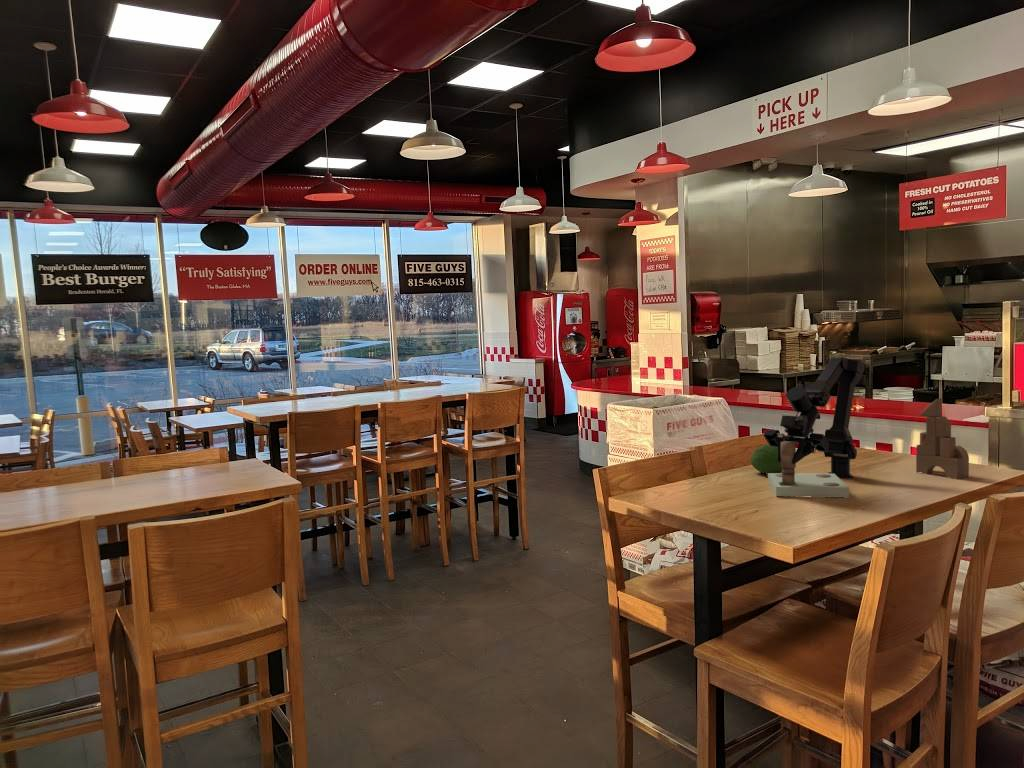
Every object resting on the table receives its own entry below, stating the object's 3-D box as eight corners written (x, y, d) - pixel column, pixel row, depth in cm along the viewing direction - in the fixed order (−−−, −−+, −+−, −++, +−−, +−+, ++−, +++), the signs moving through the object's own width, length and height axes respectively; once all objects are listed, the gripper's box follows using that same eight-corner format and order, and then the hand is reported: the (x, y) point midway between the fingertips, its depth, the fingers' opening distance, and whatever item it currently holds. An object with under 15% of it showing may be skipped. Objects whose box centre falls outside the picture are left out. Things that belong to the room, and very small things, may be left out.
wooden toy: (970, 476, 231) (970, 398, 229) (957, 479, 228) (958, 400, 226) (923, 469, 245) (923, 395, 243) (911, 471, 242) (911, 397, 240)
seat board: (768, 482, 234) (767, 472, 234) (834, 482, 230) (834, 473, 229) (776, 496, 215) (775, 486, 215) (848, 497, 210) (848, 487, 210)
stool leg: (778, 482, 219) (777, 441, 218) (791, 481, 220) (791, 440, 219) (784, 485, 215) (784, 443, 214) (798, 484, 216) (798, 443, 215)
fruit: (801, 475, 243) (801, 445, 242) (783, 479, 237) (783, 449, 236) (762, 469, 255) (762, 441, 254) (745, 473, 249) (744, 444, 249)
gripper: (766, 403, 225) (747, 443, 219) (824, 406, 211) (805, 449, 205) (779, 425, 231) (761, 464, 225) (837, 430, 217) (819, 472, 211)
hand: (785, 462), depth 216 cm, fingers closed on stool leg, 4 cm apart
